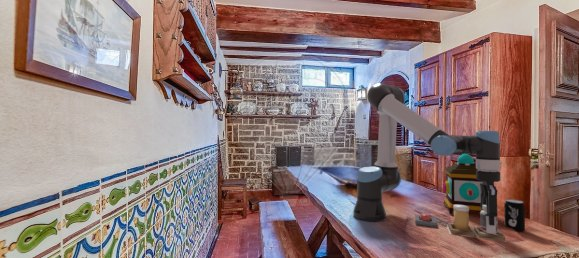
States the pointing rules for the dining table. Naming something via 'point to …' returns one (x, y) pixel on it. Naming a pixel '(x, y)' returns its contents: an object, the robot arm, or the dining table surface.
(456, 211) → the amber capped bottle
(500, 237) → the wooden divided tray
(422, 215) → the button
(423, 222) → the grey square frame
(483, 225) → the pill bottle
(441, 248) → the dining table surface
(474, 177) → the decorative lantern
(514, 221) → the beverage can
